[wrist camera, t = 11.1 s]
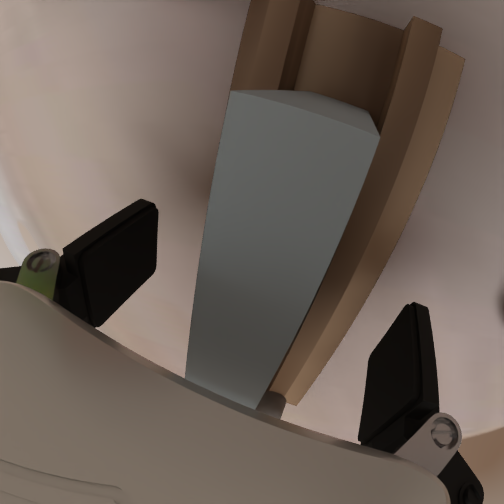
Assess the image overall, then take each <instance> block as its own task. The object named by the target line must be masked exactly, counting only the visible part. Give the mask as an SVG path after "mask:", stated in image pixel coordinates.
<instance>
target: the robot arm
mask: <svg viewBox="0 0 504 504" xmlns="http://www.w3.org/2000/svg"><path fill="white" fill-rule="evenodd" d="M157 232H158V209H157V208H156V206H155V204H154V203H152V202H149V201H146V200H144V199H139V200H137V201H136V202H134V203H132V204H131V205H129V206H127V207H126V208H124V209H122V210H121V211H119V212H118V213H116V214H114V215H113V216H111V217H110V218H108V219H106V220H105V221H103V222H102V223H100V224H99V225H97V226H95V227H94V228H92V229H91V230H89V231H88V232H86V233H85V234H83V235H82V236H80V237H79V238H77V239H76V240H74V241H73V242H72V243H70V244H69V245H67V246H66V247H64V248H63V255H62V256H61V257H60V256H59V254H58V253H57V252H56V251H55V250H52V249H39V250H36V251H34V252H32V253H30V254H29V255H28V256H27V257H26V258H25V259H24V261H23V263H22V266H19V267H9V268H0V504H482V503H483V499H484V492H483V487H482V485H481V483H480V482H479V480H478V479H477V477H476V476H475V474H474V473H473V472H472V470H471V469H470V467H469V466H468V464H467V463H466V462H465V460H464V459H463V457H462V456H461V455H460V453H459V452H458V448H459V446H460V444H461V440H462V433H461V429H460V426H459V424H458V423H457V421H456V420H455V419H454V418H453V417H452V416H451V415H449V414H447V413H441V412H440V413H439V392H438V379H437V368H436V358H435V350H434V342H433V335H432V328H431V322H430V315H429V310H428V308H427V307H426V306H423V305H420V304H418V303H415V302H413V303H411V304H410V305H409V304H406V305H405V306H404V308H403V309H402V311H401V312H400V314H399V315H398V317H397V318H396V320H395V321H394V323H393V324H392V325H391V327H390V328H389V330H388V331H387V333H386V334H385V335H384V337H383V338H382V339H381V341H380V342H379V344H378V345H377V346H376V348H375V349H374V350H373V352H372V353H371V355H370V357H369V360H368V369H367V378H366V386H365V394H364V402H363V409H362V415H361V422H360V428H359V434H358V441H360V442H361V445H359V444H356V443H352V442H348V441H345V440H342V439H338V438H335V437H332V436H328V435H325V434H322V433H319V432H316V431H312V430H309V429H306V428H303V427H300V426H297V425H294V424H292V423H289V422H286V421H283V420H280V419H278V418H275V417H272V416H269V415H267V414H264V413H262V412H259V411H257V410H254V409H252V408H249V407H247V406H244V405H242V404H239V403H237V402H235V401H232V400H230V399H228V398H225V397H223V396H221V395H218V394H216V393H214V392H212V391H210V390H207V389H205V388H203V387H201V386H199V385H197V384H195V383H193V382H191V381H188V380H186V379H184V378H182V377H180V376H178V375H176V374H174V373H172V372H171V371H169V370H167V369H165V368H163V367H161V366H159V365H157V364H155V363H153V362H152V361H150V360H148V359H146V358H144V357H142V356H141V355H139V354H137V353H135V352H134V351H132V350H130V349H128V348H127V347H125V346H123V345H122V344H120V343H118V342H116V341H115V340H113V339H111V338H110V337H108V336H107V335H105V334H103V333H102V332H100V331H99V330H97V329H95V327H100V326H101V325H102V324H103V323H104V322H105V321H106V320H107V319H108V318H109V317H110V316H111V315H112V314H113V313H114V312H115V311H116V310H117V309H118V308H119V307H120V306H121V305H122V304H123V303H124V302H125V301H126V300H127V299H128V298H129V297H130V296H131V295H132V294H133V293H134V292H135V291H136V290H137V289H138V288H139V287H140V286H141V285H142V284H143V283H145V282H146V281H147V280H148V279H149V278H150V277H151V276H152V275H153V274H154V272H155V270H156V262H157Z"/></svg>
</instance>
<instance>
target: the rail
mask: <svg viewBox="0 0 504 504" xmlns="http://www.w3.org/2000/svg"><path fill="white" fill-rule="evenodd" d="M441 34H442V28H440V27H438V26H436V25H433V24H431V23H429V22H427V21H424V20H422V19H420V18H417V17H415V16H413V18H412V19H411V21H410V22H409V24H408V25H407V27H406V28H405V30H401V29H399V28H396V27H393V26H390V25H388V24H385V23H382V22H379V21H376V20H373V19H370V18H367V17H363V16H360V15H357V14H353V13H349V12H346V11H342V10H338V9H334V8H330V7H326V6H321V5H317V4H315V2H314V1H313V0H251V2H250V6H249V10H248V14H247V18H246V22H245V26H244V30H243V35H242V39H241V43H240V47H239V52H238V56H237V61H236V65H235V70H234V74H233V79H232V84H231V88H230V91H232V90H291V91H311V92H314V93H317V94H321V95H324V96H327V97H330V98H333V99H336V100H339V101H342V102H345V103H347V104H350V105H353V106H356V107H358V108H361V109H364V110H366V111H368V112H369V114H370V116H371V118H372V120H373V122H374V125H375V127H376V129H377V131H378V133H379V135H380V140H379V143H378V146H377V148H376V151H375V154H374V157H373V159H372V162H371V165H370V167H369V170H368V173H367V175H366V178H365V181H364V183H363V186H362V188H361V191H360V193H359V196H358V198H357V201H356V203H355V206H354V208H353V211H352V213H351V215H350V218H349V220H348V223H347V225H346V227H345V230H344V232H343V234H342V237H341V239H340V241H339V244H338V246H337V248H336V251H335V253H334V255H333V257H332V260H331V262H330V264H329V266H328V268H327V271H326V273H325V275H324V277H323V279H322V281H321V284H320V286H319V288H318V290H317V292H316V294H315V296H314V298H313V300H312V303H311V305H310V307H309V309H308V311H307V313H306V315H305V317H304V319H303V321H302V323H301V325H300V327H299V329H298V331H297V333H296V335H295V337H294V339H293V341H292V343H291V345H290V347H289V349H288V350H287V352H286V354H285V356H284V358H283V360H282V362H281V364H280V366H279V367H278V369H277V371H276V373H275V375H274V377H273V378H272V380H271V382H270V384H269V386H268V388H267V389H266V391H265V393H264V395H263V396H262V398H261V400H260V402H259V404H258V405H257V407H256V409H255V410H257V411H259V412H262V413H264V414H267V415H269V416H272V417H275V418H278V419H280V418H281V416H282V413H283V410H284V407H285V404H286V402H287V403H289V404H292V405H295V406H297V404H298V403H299V402H300V400H301V399H302V398H303V396H304V395H305V393H306V392H307V391H308V389H309V388H310V387H311V385H312V384H313V382H314V381H315V379H316V378H317V377H318V375H319V374H320V372H321V371H322V369H323V368H324V366H325V365H326V364H327V362H328V361H329V359H330V358H331V356H332V355H333V353H334V352H335V350H336V348H337V347H338V345H339V344H340V342H341V341H342V339H343V338H344V336H345V334H346V333H347V331H348V330H349V328H350V326H351V325H352V323H353V321H354V320H355V318H356V316H357V315H358V313H359V311H360V310H361V308H362V306H363V305H364V303H365V301H366V299H367V298H368V296H369V294H370V292H371V291H372V289H373V287H374V285H375V284H376V282H377V280H378V278H379V276H380V274H381V273H382V271H383V269H384V267H385V265H386V263H387V261H388V259H389V257H390V255H391V254H392V252H393V250H394V248H395V246H396V244H397V242H398V240H399V238H400V236H401V233H402V231H403V229H404V227H405V225H406V223H407V221H408V219H409V217H410V214H411V212H412V210H413V208H414V206H415V203H416V201H417V199H418V196H419V194H420V192H421V189H422V187H423V185H424V182H425V180H426V178H427V175H428V173H429V170H430V168H431V165H432V162H433V160H434V157H435V155H436V152H437V149H438V147H439V144H440V141H441V138H442V135H443V133H444V130H445V127H446V124H447V121H448V118H449V115H450V112H451V108H452V105H453V102H454V99H455V95H456V92H457V88H458V85H459V81H460V77H461V74H462V70H463V66H464V62H465V59H464V58H462V57H460V56H459V55H457V54H455V53H453V52H451V51H449V50H447V49H445V48H443V47H441V46H439V42H440V38H441ZM229 95H230V93H229ZM228 100H229V98H228ZM227 105H228V103H227ZM226 109H227V108H226ZM225 114H226V113H225ZM224 119H225V118H224ZM223 124H224V123H223Z"/></svg>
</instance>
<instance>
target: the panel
mask: <svg viewBox="0 0 504 504" xmlns="http://www.w3.org/2000/svg"><path fill="white" fill-rule="evenodd" d="M379 140H380V135H379V133H378V131H377V129H376V127H375V125H374V122H373V120H372V118H371V116H370V114H369V112H368V111H366V110H364V109H361V108H358V107H356V106H353V105H350V104H347V103H345V102H342V101H339V100H336V99H333V98H330V97H327V96H324V95H321V94H317V93H314V92H311V91H291V90H232V91H230V95H229V100H228V105H227V109H226V114H225V119H224V124H223V128H222V133H221V138H220V143H219V148H218V154H217V159H216V164H215V170H214V175H213V180H212V186H211V192H210V197H209V203H208V209H207V215H206V221H205V227H204V233H203V240H202V246H201V253H200V260H199V266H198V273H197V280H196V288H195V295H194V303H193V310H192V318H191V327H190V335H189V344H188V353H187V362H186V372H185V379H186V380H188V381H191V382H193V383H195V384H197V385H199V386H201V387H203V388H205V389H207V390H210V391H212V392H214V393H216V394H218V395H221V396H223V397H225V398H228V399H230V400H232V401H235V402H237V403H239V404H242V405H244V406H247V407H249V408H252V409H254V410H255V409H256V407H257V405H258V404H259V402H260V400H261V398H262V396H263V395H264V393H265V391H266V389H267V388H268V386H269V384H270V382H271V380H272V378H273V377H274V375H275V373H276V371H277V369H278V367H279V366H280V364H281V362H282V360H283V358H284V356H285V354H286V352H287V350H288V349H289V347H290V345H291V343H292V341H293V339H294V337H295V335H296V333H297V331H298V329H299V327H300V325H301V323H302V321H303V319H304V317H305V315H306V313H307V311H308V309H309V307H310V305H311V303H312V300H313V298H314V296H315V294H316V292H317V290H318V288H319V286H320V284H321V281H322V279H323V277H324V275H325V273H326V271H327V268H328V266H329V264H330V262H331V260H332V257H333V255H334V253H335V251H336V248H337V246H338V244H339V241H340V239H341V237H342V234H343V232H344V230H345V227H346V225H347V223H348V220H349V218H350V215H351V213H352V211H353V208H354V206H355V203H356V201H357V198H358V196H359V193H360V191H361V188H362V186H363V183H364V181H365V178H366V175H367V173H368V170H369V167H370V165H371V162H372V159H373V157H374V154H375V151H376V148H377V146H378V143H379Z"/></svg>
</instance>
